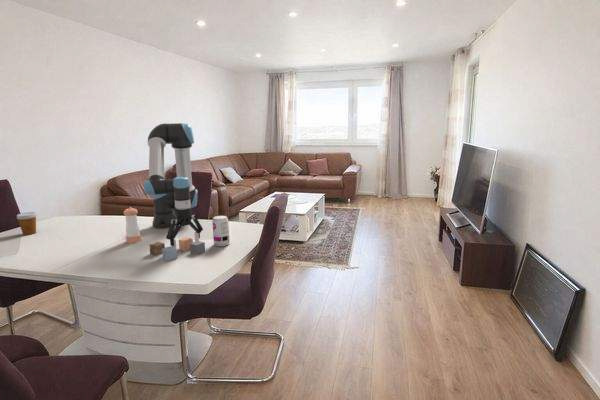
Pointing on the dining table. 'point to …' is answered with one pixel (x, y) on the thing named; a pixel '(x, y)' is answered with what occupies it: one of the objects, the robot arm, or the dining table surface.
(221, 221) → the supplement can
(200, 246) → the charcoal cube
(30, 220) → the disposable coffee cup
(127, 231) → the pepper shaker
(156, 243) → the walnut cube
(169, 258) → the slate blue cube
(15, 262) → the dining table surface
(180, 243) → the terracotta cube
